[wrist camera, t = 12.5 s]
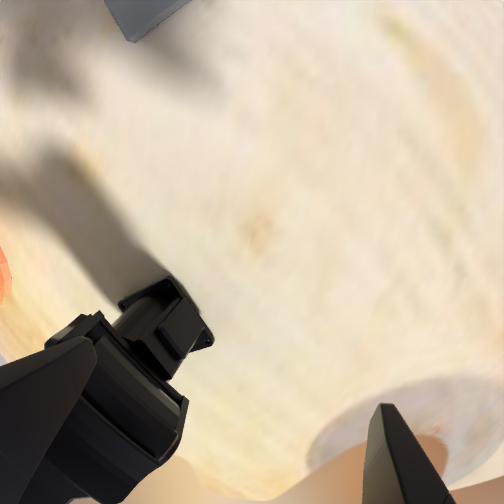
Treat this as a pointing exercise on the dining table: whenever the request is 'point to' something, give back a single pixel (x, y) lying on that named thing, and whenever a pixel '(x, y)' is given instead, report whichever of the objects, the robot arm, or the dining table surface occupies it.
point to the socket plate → (141, 15)
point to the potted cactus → (4, 277)
